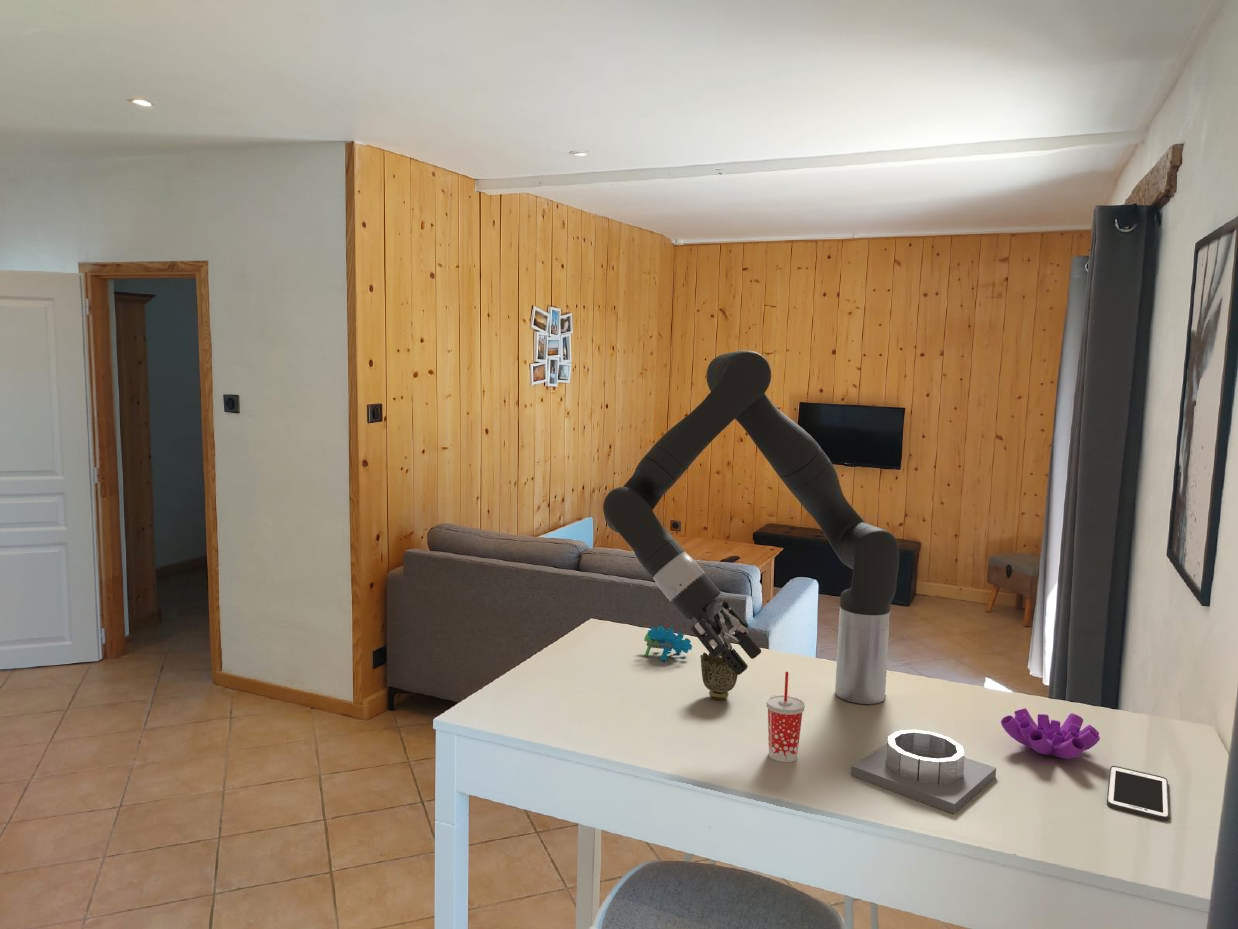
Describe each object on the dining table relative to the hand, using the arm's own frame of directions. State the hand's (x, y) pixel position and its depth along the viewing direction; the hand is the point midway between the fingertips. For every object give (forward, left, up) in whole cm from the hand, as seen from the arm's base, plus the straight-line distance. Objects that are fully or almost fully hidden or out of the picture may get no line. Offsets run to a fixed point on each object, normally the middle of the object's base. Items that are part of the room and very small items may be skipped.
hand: (750, 663), depth 138 cm
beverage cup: (-2, +6, -15) cm, 16 cm away
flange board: (-12, +25, -14) cm, 31 cm away
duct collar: (-12, +25, -13) cm, 30 cm away
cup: (-14, -16, -15) cm, 26 cm away
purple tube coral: (-35, +36, -15) cm, 52 cm away
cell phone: (-30, +50, -15) cm, 60 cm away
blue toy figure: (-25, -38, -15) cm, 48 cm away
